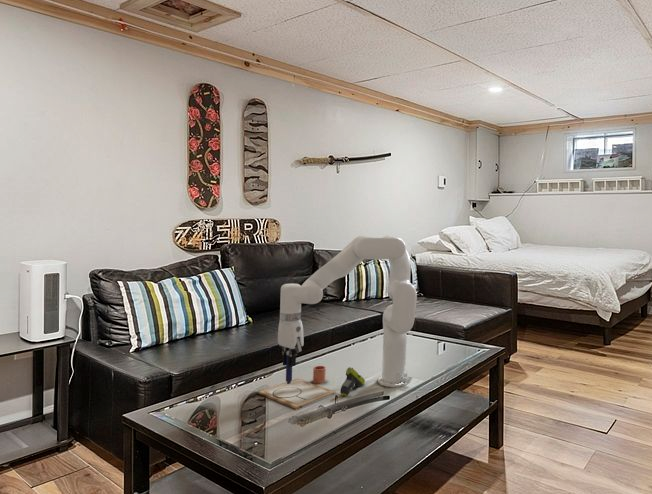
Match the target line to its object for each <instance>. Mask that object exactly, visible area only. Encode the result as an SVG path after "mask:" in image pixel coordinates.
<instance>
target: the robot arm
mask: <svg viewBox="0 0 652 494" xmlns="http://www.w3.org/2000/svg"><path fill="white" fill-rule="evenodd" d="M364 260H388V262H389V275H388V286H387V295H388V298H389V299H390V300H392V304H389V305H388V306H386V308H385V309H384V311H383V313H382V329H383V330H382V331H383V332H382V334H383V335H382V336H383V337H382V338H383V339H382V361H381V362H382V364H381V366H382V367H381V375H380V376H379V377H378V378H377V382H378V384H379V385H380V386H383V387H387V388H398V387H399V388H401V387H404V386H407V385H408V384H410V383H411V381H412V380H413V376H409V373H408V371H407V370H406V369H407V368H406V367H407V344H408V343H407V342H408V335H407V334H408V333H409V332H410V331H411V330H412V328H414V327H413V326H414V323H415V319H416V311H417V310H416V309H417V301H418V299H417V298H418V295H417V289H416V287H415V286H414V285H413V283H411V269H412V266H411V265H412V263H411V257H410V254H409V252H408V250H407V245H406V243H405V241H404V240H403V239H402V238H400V237H397V236H394V235H390V234H389V235H384V236H383V237H372V236H370V237H369V236H366V235H359V236H356V237H355V238H354V239H353V240H351V242H349V243H348V244H347V245H346V246H345V247H344V248H343V249H342V250H341V251H340V252H338V253H337V254H336V255H335V256H334V257H333V258H332V259H330V260H329V261H327V262H326V263H325V264H324V265H322V266H321V267H319V268H318V269H317V270H316V271H314V273H313V274H311V275H310V276H309V277H308V278H306V280H305V281H304V282H303V283H302V284H299V283H292V282H291V283H284V284H282V285H281V286H280V299H279V300H280V305H279V308H280V309H279V322H278V328H277V329H278V330H277V345H278V347H279V348H280V349H281V354H282V366H285V367H286V355H287V354H286V353H287V351H289V356H288V367H292V368H293V367H295V366H296V364H297V355H298V353H300V352H302V351H303V350H302V347H303V346H304V344H305V343H304V339H305V338H304V327H303V326H304V325H303V321H302V304H304V305H305V304H306V305H315V304H318V303H320V302H321V301H322V300H323V297H324V291H323V290H325V289H326V288H327V287H328V286H329V285H330V284H332V283H333V282H334V281H337V280H339V279H341V278H344V277H346V276H347V275H349V274H350V273H351V272H352V271H354V269H355V268H357V266H358V265H360V264H361V263H362V262H363V261H364ZM401 382H403V383H404V384H401V385H395V384H399V383H401Z"/></svg>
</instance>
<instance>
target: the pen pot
mask: <svg viewBox="0 0 652 494" xmlns="http://www.w3.org/2000/svg"><path fill="white" fill-rule="evenodd" d="M326 373H327V367H326V366H325V365H315V366H313V368H312V383H313V384H324V383H325V382H326Z"/></svg>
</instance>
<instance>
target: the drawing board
mask: <svg viewBox="0 0 652 494" xmlns="http://www.w3.org/2000/svg"><path fill="white" fill-rule="evenodd" d="M258 394H259V395H261V396H264V397H266V398H268V399H271V400H273V401H275V402H277V403H280V404H282V405H285V406H287V407H290V408H293V409H294V410H297V409H301V408H303V406H305V405H308V404H309V403H312V402H316V401H318V400H320V399H323V398H325V397H328V396H331V395H333V394H336V391H334V390H331V389H328V388H325V387H322V386H319V385H318V384H315V383H311V382H308V381H306V380H303V379H300V378H296V379H292V381H291V383H290V384H287V381H285V382H284V383H280V384H278V385H277V384H276V385H274V386H271V387H268V388H265V389H262V390H259V391H258Z"/></svg>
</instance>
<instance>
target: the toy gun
mask: <svg viewBox="0 0 652 494" xmlns="http://www.w3.org/2000/svg"><path fill="white" fill-rule="evenodd" d="M345 376H346V378H345V380H344V382H343V383H342V385H341V386H340V389H339V390H340V391H339V393H340V394H341V396H344V397H346V398H348V397H349V394H350V391H351V390H357V388H358V387H362V386H364V384H365V382H366V379H365V378H364V377H363V376H362V375H360V374H359V373H358V372H357V370H356V369H354V368H353V367H351V366H350V367H349V366H348V367H347V368H346V371H345Z"/></svg>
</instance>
